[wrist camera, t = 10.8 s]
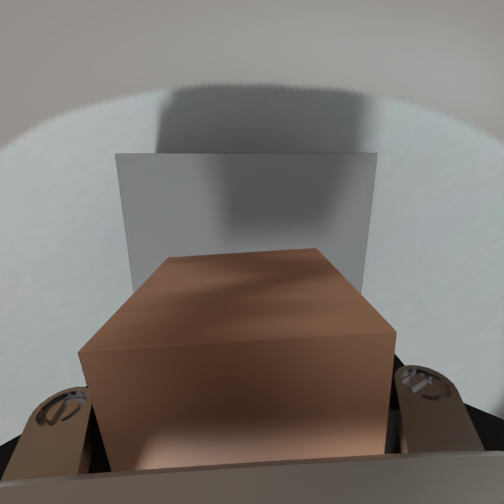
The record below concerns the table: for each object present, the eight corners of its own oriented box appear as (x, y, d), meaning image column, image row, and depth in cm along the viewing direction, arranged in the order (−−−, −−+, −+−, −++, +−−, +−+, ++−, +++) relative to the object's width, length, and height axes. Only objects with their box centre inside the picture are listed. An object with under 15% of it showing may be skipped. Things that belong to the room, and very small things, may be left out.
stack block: (316, 247, 11) (396, 331, 5) (315, 371, 12) (375, 540, 7) (167, 257, 11) (77, 352, 5) (187, 380, 12) (136, 557, 7)
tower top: (347, 158, 19) (377, 153, 14) (331, 334, 22) (352, 371, 18) (145, 159, 18) (114, 153, 14) (164, 336, 22) (144, 375, 18)
